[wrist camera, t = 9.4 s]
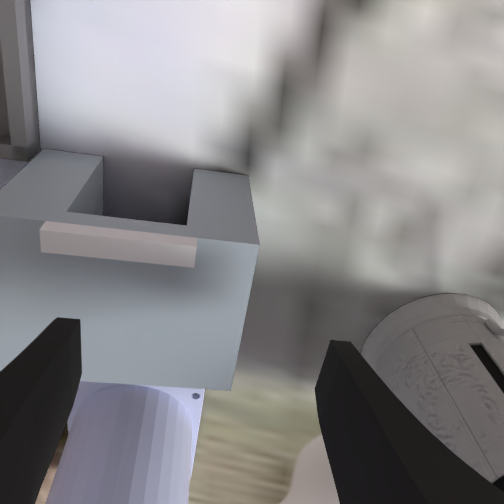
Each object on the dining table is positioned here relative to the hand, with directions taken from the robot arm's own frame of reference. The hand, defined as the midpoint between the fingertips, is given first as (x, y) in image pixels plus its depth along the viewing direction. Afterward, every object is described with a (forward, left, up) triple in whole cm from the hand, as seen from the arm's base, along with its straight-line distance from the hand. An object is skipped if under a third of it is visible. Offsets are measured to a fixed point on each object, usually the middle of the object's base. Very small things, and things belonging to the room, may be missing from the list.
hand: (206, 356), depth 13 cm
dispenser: (-1, +3, -10) cm, 10 cm away
